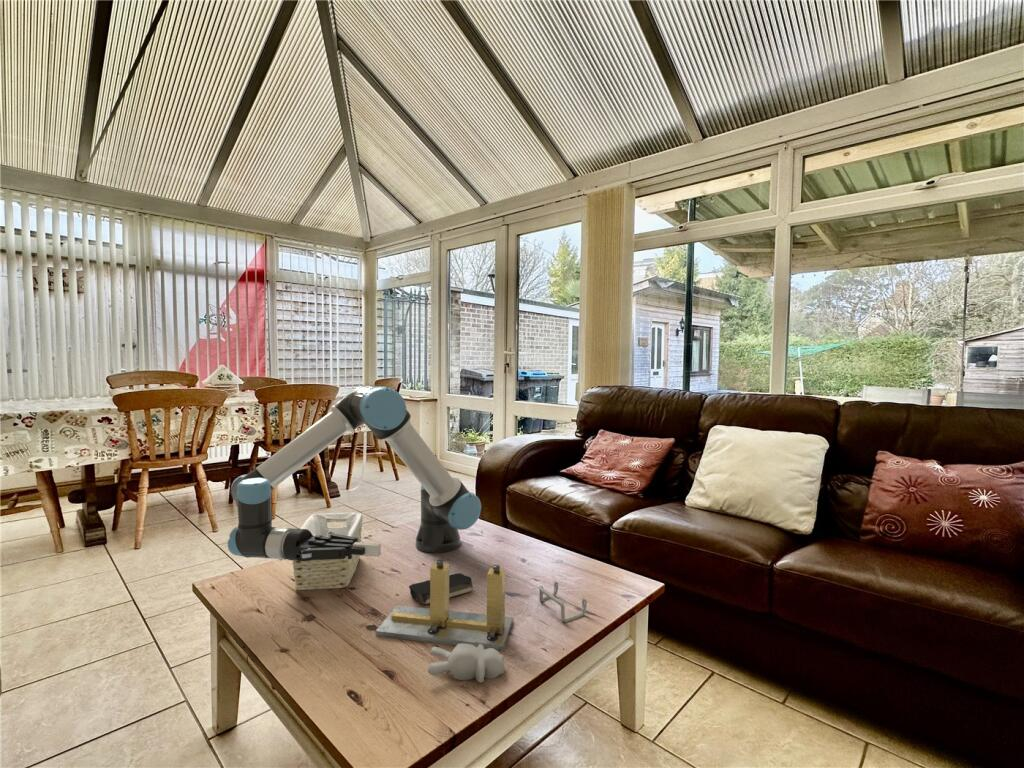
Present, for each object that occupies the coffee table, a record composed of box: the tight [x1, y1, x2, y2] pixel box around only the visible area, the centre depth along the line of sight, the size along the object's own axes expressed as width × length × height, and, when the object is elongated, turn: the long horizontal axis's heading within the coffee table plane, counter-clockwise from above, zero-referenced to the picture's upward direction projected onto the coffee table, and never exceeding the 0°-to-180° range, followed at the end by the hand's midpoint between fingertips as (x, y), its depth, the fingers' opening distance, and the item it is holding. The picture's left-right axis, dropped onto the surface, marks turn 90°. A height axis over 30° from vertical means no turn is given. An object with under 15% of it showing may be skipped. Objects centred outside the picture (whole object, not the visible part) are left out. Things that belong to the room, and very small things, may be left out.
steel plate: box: [375, 604, 514, 652], centre depth 116 cm, size 12×30×1 cm, turn 80°
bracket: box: [538, 580, 588, 624], centre depth 126 cm, size 13×8×5 cm, turn 33°
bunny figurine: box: [427, 643, 505, 684], centre depth 100 cm, size 10×5×15 cm
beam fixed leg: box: [391, 564, 506, 638], centre depth 115 cm, size 6×27×15 cm, turn 80°
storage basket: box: [291, 511, 363, 591], centre depth 145 cm, size 24×16×15 cm
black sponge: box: [408, 572, 474, 605], centre depth 133 cm, size 16×8×4 cm, turn 123°
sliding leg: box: [429, 559, 450, 632], centre depth 115 cm, size 6×4×15 cm, turn 170°
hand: (379, 550), depth 118 cm, fingers closed
